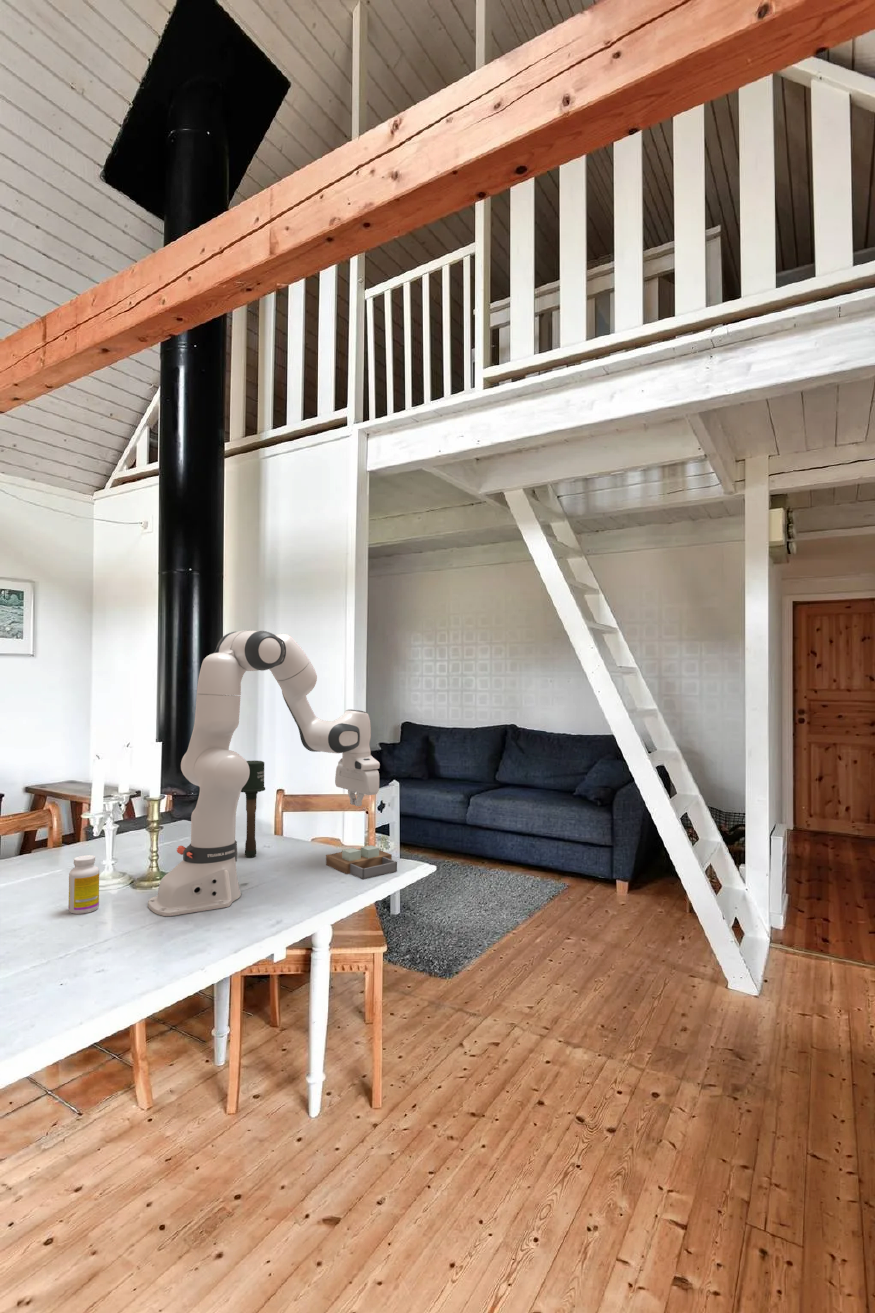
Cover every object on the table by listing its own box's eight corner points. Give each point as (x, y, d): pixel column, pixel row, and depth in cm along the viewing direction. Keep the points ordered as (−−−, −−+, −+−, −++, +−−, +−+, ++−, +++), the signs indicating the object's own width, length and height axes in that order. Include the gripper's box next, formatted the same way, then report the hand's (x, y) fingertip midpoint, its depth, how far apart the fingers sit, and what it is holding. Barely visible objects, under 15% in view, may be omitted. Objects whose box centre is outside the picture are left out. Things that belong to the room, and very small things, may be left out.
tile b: (368, 858, 200) (368, 850, 200) (360, 855, 203) (360, 847, 203) (379, 856, 203) (379, 847, 203) (371, 853, 206) (371, 845, 206)
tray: (362, 879, 190) (363, 869, 190) (350, 873, 195) (350, 864, 195) (396, 871, 197) (396, 862, 197) (383, 866, 203) (383, 856, 203)
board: (347, 874, 194) (347, 864, 194) (326, 865, 204) (326, 855, 204) (391, 864, 205) (391, 854, 205) (369, 855, 214) (369, 846, 214)
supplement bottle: (104, 908, 165) (105, 856, 166) (78, 917, 160) (79, 863, 160) (88, 903, 169) (89, 852, 169) (62, 911, 163) (63, 858, 163)
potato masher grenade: (260, 860, 208) (261, 764, 208) (232, 860, 208) (234, 763, 209) (267, 853, 216) (268, 760, 217) (241, 852, 216) (242, 760, 217)
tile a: (349, 861, 197) (349, 852, 197) (342, 858, 200) (342, 849, 200) (360, 858, 200) (360, 850, 200) (353, 856, 203) (353, 847, 203)
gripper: (330, 758, 216) (330, 801, 215) (365, 765, 200) (365, 811, 200) (347, 756, 220) (346, 799, 219) (383, 763, 204) (382, 809, 204)
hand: (355, 805), depth 209 cm, fingers closed
